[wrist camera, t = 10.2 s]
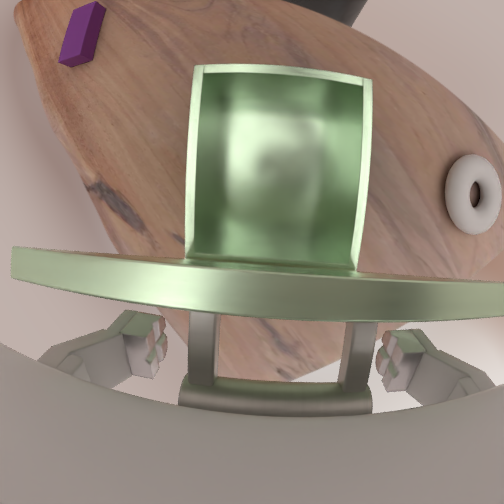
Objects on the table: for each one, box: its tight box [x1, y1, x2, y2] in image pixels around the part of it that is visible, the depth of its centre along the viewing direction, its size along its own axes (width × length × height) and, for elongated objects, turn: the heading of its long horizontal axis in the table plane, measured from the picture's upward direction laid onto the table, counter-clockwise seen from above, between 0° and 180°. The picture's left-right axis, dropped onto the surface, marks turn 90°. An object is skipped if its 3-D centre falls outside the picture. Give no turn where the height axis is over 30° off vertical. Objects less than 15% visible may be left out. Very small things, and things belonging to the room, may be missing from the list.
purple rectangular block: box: [58, 1, 106, 67], centre depth 22 cm, size 9×4×3 cm, turn 177°
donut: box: [445, 154, 502, 235], centre depth 25 cm, size 10×4×10 cm
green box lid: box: [11, 246, 504, 417], centre depth 13 cm, size 16×14×5 cm
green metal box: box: [185, 64, 373, 271], centre depth 23 cm, size 16×14×9 cm
